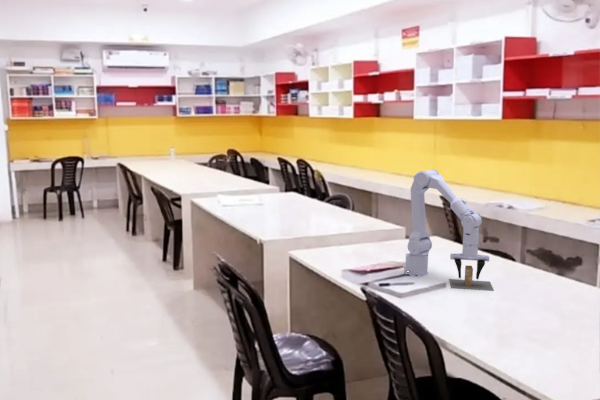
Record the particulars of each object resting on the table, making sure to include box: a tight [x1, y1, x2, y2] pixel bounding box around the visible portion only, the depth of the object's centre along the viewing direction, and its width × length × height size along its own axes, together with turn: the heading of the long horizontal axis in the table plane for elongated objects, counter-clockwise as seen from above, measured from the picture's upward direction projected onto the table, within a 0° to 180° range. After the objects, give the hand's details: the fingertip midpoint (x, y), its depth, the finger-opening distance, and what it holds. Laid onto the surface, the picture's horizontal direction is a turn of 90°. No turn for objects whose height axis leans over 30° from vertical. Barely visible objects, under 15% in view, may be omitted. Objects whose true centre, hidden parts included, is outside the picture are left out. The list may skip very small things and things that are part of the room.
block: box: [464, 265, 474, 287], centre depth 238 cm, size 2×5×7 cm, turn 169°
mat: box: [448, 278, 495, 292], centre depth 238 cm, size 16×13×1 cm
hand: (468, 278), depth 238 cm, fingers open, 6 cm apart
